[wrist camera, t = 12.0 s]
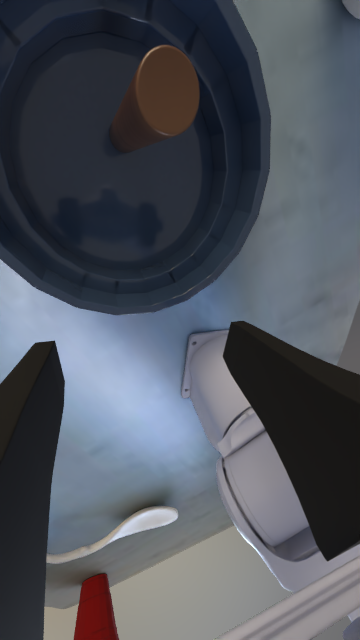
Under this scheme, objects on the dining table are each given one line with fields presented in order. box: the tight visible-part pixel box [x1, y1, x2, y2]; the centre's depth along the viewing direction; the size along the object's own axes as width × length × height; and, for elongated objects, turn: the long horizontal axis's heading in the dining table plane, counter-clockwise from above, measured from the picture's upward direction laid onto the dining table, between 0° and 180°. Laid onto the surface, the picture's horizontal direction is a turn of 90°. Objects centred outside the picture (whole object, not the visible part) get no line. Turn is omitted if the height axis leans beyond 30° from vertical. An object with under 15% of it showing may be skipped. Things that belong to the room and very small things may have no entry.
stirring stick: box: [109, 45, 200, 153], centre depth 9 cm, size 2×2×10 cm
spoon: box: [46, 506, 178, 563], centre depth 39 cm, size 9×32×4 cm, turn 81°
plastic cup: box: [74, 574, 119, 640], centre depth 52 cm, size 11×11×12 cm
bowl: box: [0, 0, 271, 315], centre depth 13 cm, size 15×15×4 cm
